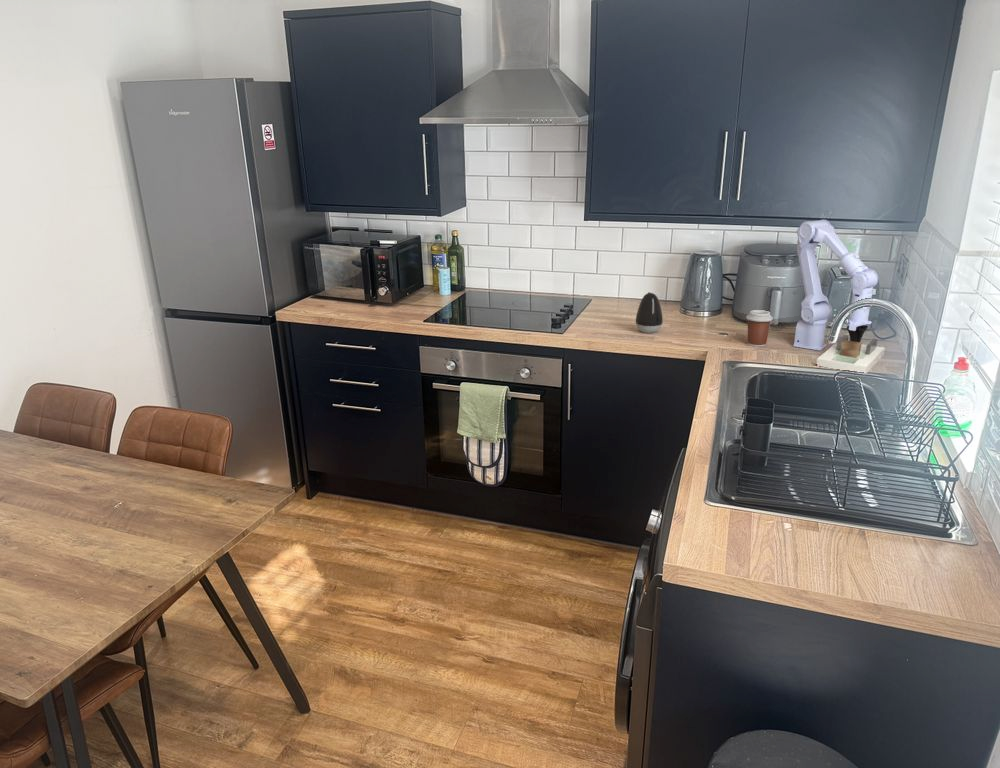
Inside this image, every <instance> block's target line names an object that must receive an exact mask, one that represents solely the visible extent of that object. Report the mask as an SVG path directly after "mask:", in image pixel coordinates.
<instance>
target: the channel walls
mask: <svg viewBox="0 0 1000 768" xmlns="http://www.w3.org/2000/svg"><path fill="white" fill-rule="evenodd" d="M849 338H850V336H849V334H844V335H843V336H842V337H841V338H840V339H838V340H837V341H836V342H837V347H836V350H841V345H842V343H843V342H844V341H845V340H847V341H849ZM866 345H867V347H866V353H865V354H866V355H870V354H871V353H872V352H873V351H874V350H875V349H876V346H877V345H878V338H873V339H872V340H871V341H870V342H869V343H868V344H866ZM877 347H878V346H877Z"/></svg>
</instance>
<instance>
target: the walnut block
mask: <svg viewBox="0 0 1000 768" xmlns="http://www.w3.org/2000/svg"><path fill="white" fill-rule="evenodd" d="M861 344H862V342H861V341H860V342H854V341H850V340H848V341H847V340H845V341H844V342H843V343H842V345H841V352H840V355H841V356H847V357H854V358H857V357H858V356H859V355H860V351H861Z"/></svg>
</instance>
